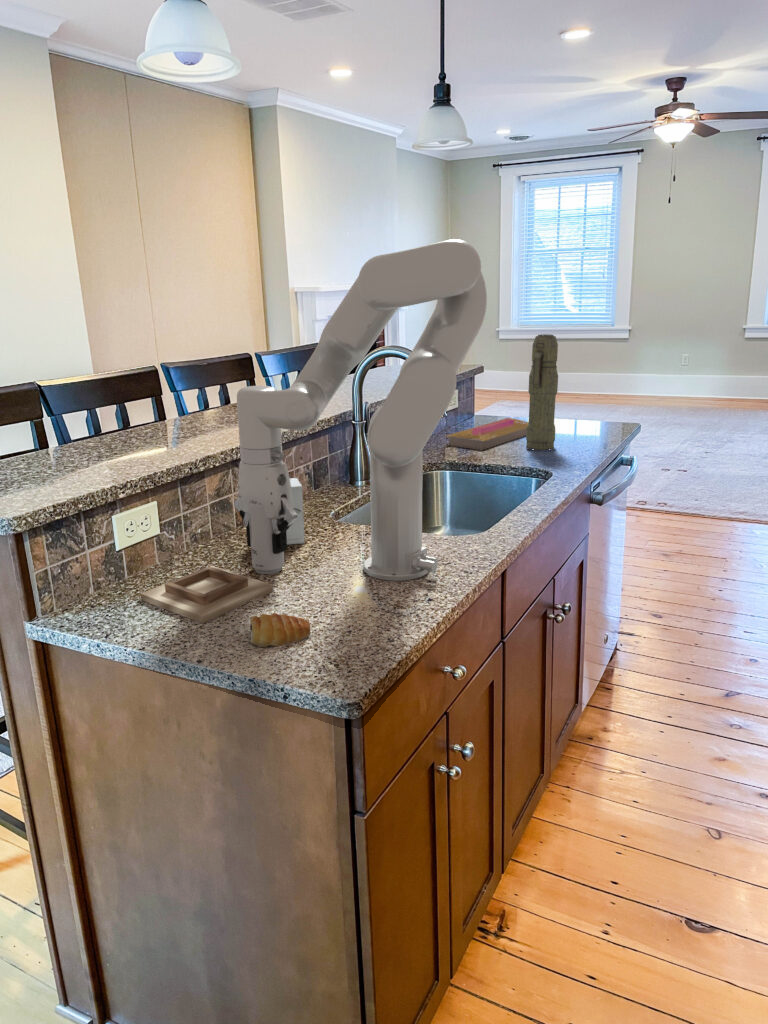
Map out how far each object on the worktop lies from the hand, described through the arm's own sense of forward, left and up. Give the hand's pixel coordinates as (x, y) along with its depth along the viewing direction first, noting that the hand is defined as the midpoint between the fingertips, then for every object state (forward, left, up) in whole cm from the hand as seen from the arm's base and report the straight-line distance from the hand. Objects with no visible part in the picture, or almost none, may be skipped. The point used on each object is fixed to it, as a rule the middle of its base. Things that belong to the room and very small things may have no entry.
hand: (267, 547), depth 143 cm
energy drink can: (0, 0, -5) cm, 5 cm away
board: (0, +15, -4) cm, 16 cm away
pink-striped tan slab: (+22, -128, -5) cm, 130 cm away
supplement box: (+9, -14, -5) cm, 17 cm away
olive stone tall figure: (+3, -124, -5) cm, 124 cm away
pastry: (-21, +19, -5) cm, 29 cm away
